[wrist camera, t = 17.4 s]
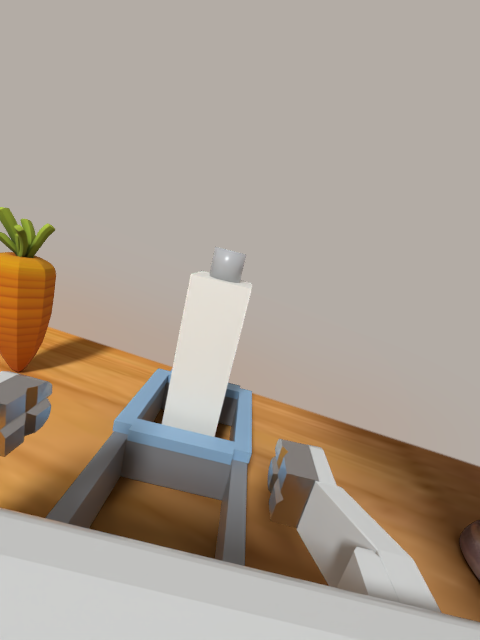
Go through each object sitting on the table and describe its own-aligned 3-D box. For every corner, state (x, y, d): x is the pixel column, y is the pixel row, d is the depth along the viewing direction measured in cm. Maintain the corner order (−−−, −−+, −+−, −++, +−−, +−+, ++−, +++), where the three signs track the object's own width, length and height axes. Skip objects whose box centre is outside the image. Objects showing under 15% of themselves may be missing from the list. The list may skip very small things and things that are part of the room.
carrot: (61, 369, 28) (73, 223, 24) (12, 390, 23) (18, 212, 19) (22, 355, 28) (28, 211, 25) (-33, 373, 24) (-36, 198, 20)
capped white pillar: (214, 432, 24) (258, 257, 20) (206, 466, 20) (259, 257, 16) (171, 422, 24) (207, 245, 20) (155, 454, 20) (197, 242, 16)
